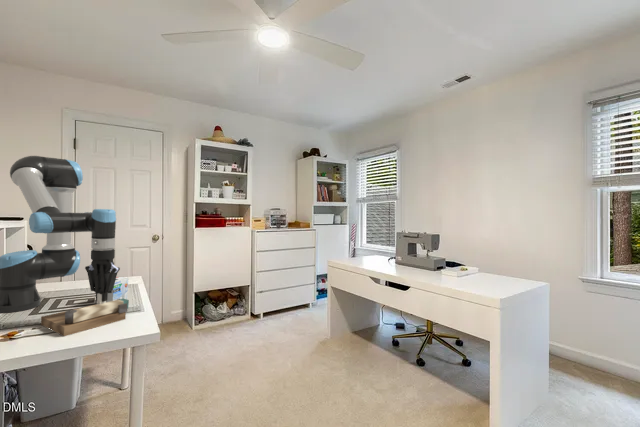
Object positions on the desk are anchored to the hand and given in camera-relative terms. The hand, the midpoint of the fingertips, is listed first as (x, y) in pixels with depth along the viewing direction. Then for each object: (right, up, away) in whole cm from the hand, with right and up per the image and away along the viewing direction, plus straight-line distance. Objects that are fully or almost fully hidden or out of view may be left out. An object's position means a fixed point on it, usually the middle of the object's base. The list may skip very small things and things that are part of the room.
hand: (101, 309), depth 120 cm
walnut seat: (-5, -4, -2) cm, 7 cm away
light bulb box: (-10, -4, +22) cm, 24 cm away
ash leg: (+1, -1, -4) cm, 4 cm away
